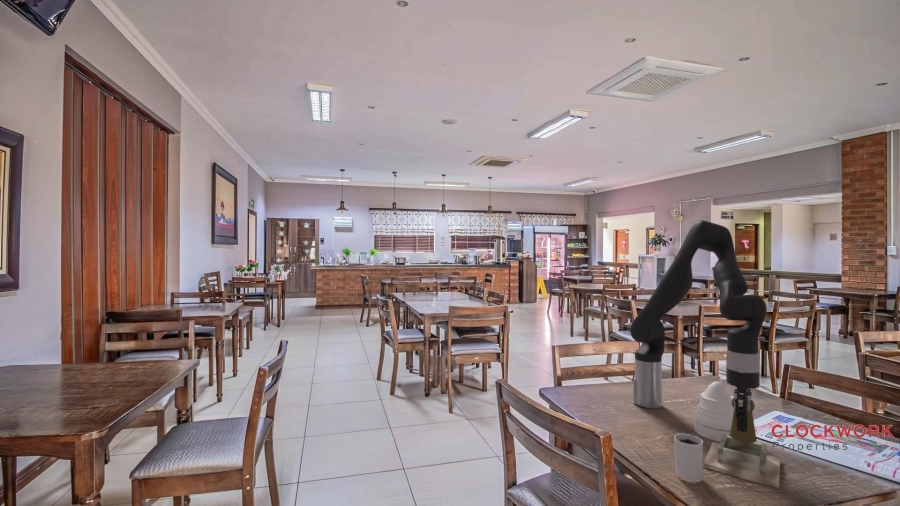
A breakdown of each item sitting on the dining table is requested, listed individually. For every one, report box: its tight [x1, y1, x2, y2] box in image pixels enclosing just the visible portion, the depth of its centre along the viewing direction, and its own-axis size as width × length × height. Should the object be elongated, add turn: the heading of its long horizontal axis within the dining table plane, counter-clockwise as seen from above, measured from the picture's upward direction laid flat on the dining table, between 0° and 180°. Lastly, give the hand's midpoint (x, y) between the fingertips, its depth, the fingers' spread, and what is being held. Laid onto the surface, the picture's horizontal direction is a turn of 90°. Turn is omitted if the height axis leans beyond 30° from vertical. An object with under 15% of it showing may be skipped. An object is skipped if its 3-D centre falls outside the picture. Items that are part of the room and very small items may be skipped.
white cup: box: [673, 433, 704, 482], centre depth 109 cm, size 7×7×10 cm
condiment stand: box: [703, 434, 781, 489], centre depth 115 cm, size 16×16×5 cm
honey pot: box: [694, 376, 734, 442], centre depth 134 cm, size 13×13×18 cm
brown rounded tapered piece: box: [730, 398, 757, 443], centre depth 115 cm, size 6×6×11 cm
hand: (742, 429), depth 115 cm, fingers closed on brown rounded tapered piece, 4 cm apart
